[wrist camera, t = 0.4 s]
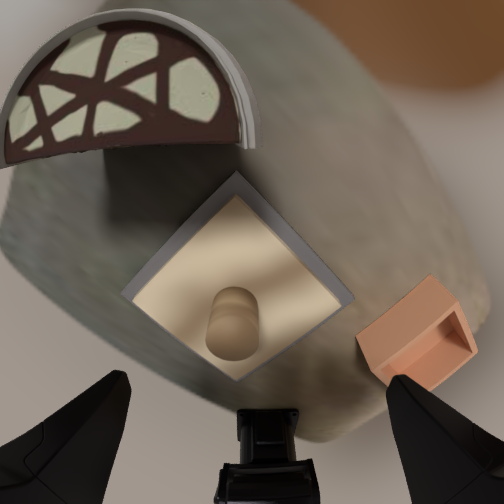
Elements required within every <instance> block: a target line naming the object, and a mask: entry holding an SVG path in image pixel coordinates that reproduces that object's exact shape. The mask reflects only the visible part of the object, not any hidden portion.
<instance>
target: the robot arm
mask: <svg viewBox="0 0 504 504" xmlns="http://www.w3.org/2000/svg"><path fill="white" fill-rule="evenodd" d="M130 397H131V386H130V383H129V380H128V377H127V374H126V372H124V371H120V370H113V371H111V372H110V373H109V374H107V375H106V376H105V377H103V378H102V379H101V380H99V381H98V382H96V383H95V384H94V385H92V386H91V387H90V388H88V389H87V390H85V391H84V392H83V393H81V394H80V395H78V396H77V397H76V398H74V399H73V400H71V401H70V402H69V403H67V404H66V405H65V406H63V407H62V408H61V409H59V410H58V411H56V412H55V413H53V414H52V415H51V416H49V417H48V418H46V419H45V420H44V421H43V422H41V423H39V424H38V425H36V426H35V427H33V428H32V429H30V430H29V431H27V432H26V433H24V434H23V435H21V436H19V437H17V438H16V439H14V440H12V441H10V442H8V443H6V444H5V445H3V446H1V447H0V504H102V502H103V499H104V494H105V491H106V488H107V484H108V481H109V477H110V474H111V470H112V467H113V464H114V460H115V457H116V454H117V450H118V447H119V444H120V441H121V438H122V434H123V431H124V427H125V422H126V417H127V412H128V407H129V402H130ZM386 400H387V405H388V410H389V415H390V420H391V425H392V430H393V434H394V438H395V441H396V445H397V448H398V451H399V455H400V458H401V462H402V466H403V469H404V473H405V477H406V481H407V485H408V489H409V493H410V497H411V501H412V504H504V441H501V440H500V439H498V438H496V437H495V436H493V435H491V434H490V433H488V432H486V431H485V430H483V429H482V428H481V427H479V426H478V425H476V424H475V423H472V421H470V420H469V419H468V418H466V417H465V416H463V415H462V414H460V413H459V412H457V411H456V410H455V409H453V408H452V407H451V406H449V405H448V404H446V403H445V402H443V401H442V400H440V399H439V398H438V397H436V396H435V395H434V394H432V393H430V391H428V390H427V389H425V388H424V387H422V386H421V385H420V384H418V383H417V382H415V381H414V380H413V379H411V378H410V377H409V376H407V375H406V374H398V375H394V376H393V377H392V379H391V382H390V384H389V386H388V388H387V391H386ZM298 417H299V410H297V409H281V410H238V411H237V437H238V441H240V464H230V463H224V466H223V469H221V470H220V473H219V483H218V487H217V490H216V494H215V496H214V504H320V491H319V486H318V481H317V477H316V473H315V469H314V464H313V460H312V459H307V460H301V461H296V452H295V444H294V433H295V429H296V425H297V421H298Z"/></svg>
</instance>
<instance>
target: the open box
mask: <svg viewBox="0 0 504 504" xmlns="http://www.w3.org/2000/svg"><path fill="white" fill-rule="evenodd" d="M356 338H357V340H358V343H359V345H360V347H361V349H362V352H363V354H364V356H365V358H366V361H367V363H368V365H369V368H370V370H371V372H373V373H374V374H375V375H376V376H377V377H378V378H379V379H380V380H381V381H382V382H383V383H384V384H385V385H386V386H387V387H388V386H389V384H390V382H391V379H392V377H393V376H394V375H398V374H406V375H407V376H409V377H410V378H411V379H413V380H414V381H415V382H417V383H418V384H420V385H421V386H422V387H424V388H425V389H427V390H428V391H431V390H433V389H434V388H435V387H437V385H439V384H440V383H442V382H443V381H444V380H446V379H447V378H448V377H449V376H451V375H452V374H453V373H454V372H455V371H457V370H458V369H459V368H460V367H461V366H463V365H464V364H465V363H466V362H467V361H468V360H470V359H471V358H472V357H473V356H474V355H475V354H476V353H477V352H478V349H477V346H476V344H475V341H474V338H473V336H472V333H471V331H470V328H469V326H468V323H467V321H466V318H465V316H464V314H463V311H462V309H461V307H460V304H459V302H458V300H457V299H456V298H455V297H454V296H453V295H452V294H451V293H450V292H449V291H448V290H447V289H446V288H445V287H444V286H443V285H441V284H440V283H439V282H438V281H437V280H436V279H435V278H434V277H433V276H432V275H431V274H430V275H428V276H427V277H426V278H425V279H424V280H423V281H422V282H421V283H420V284H419V285H417V286H416V287H415V288H414V289H413V290H412V291H411V292H409V293H408V294H407V295H406V296H405V297H404V298H402V299H401V300H400V301H399V302H398V303H396V304H395V305H394V306H393V307H392V308H390V309H389V310H388V311H387V312H385V313H384V314H383V315H382V316H380V317H379V318H378V319H377V320H375V321H374V322H373V323H372V324H370V325H369V326H368V327H366V328H365V329H364V330H362V331H361V332H360V333H358V334H357V335H356Z"/></svg>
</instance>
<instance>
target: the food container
mask: <svg viewBox="0 0 504 504" xmlns="http://www.w3.org/2000/svg"><path fill="white" fill-rule="evenodd" d="M172 144H196V145H198V144H236V145H238V146H240V147H242V148H244V149H248V148H261V147H262V132H261V121H260V116H259V112H258V107H257V102H256V98H255V96H254V93H253V91H252V89H251V86H250V84H249V81H248V79H247V77H246V75H245V73H244V72H243V70H242V69H241V67H240V66H239V64H238V63H237V61H236V59H235V58H234V57H233V56H232V54H231V53H230V52H229V51H228V50H227V49H226V48H225V47H224V46H223V45H222V44H221V43H220V42H219V41H218V40H217V39H215V38H214V37H212V36H211V35H210V34H208V33H207V32H205V31H204V30H202V29H201V28H199V27H198V26H196V25H194V24H192V23H191V22H189V21H186V20H184V19H182V18H179V17H177V16H175V15H172V14H170V13H166V12H161V11H156V10H151V9H116V10H111V11H106V12H101V13H96V14H93V15H91V16H88V17H85V18H83V19H80V20H78V21H76V22H74V23H72V24H70V25H69V26H67V27H65V28H63V29H62V30H60V31H58V32H57V33H56V34H54V35H53V36H52V37H50V38H49V39H48V40H47V41H46V42H44V43H43V44H42V45H41V46H40V47H39V48H38V49H37V50H36V51H35V52H34V53H33V54H32V55H31V57H30V58H29V59H28V60H27V61H26V63H25V64H24V65H23V67H22V68H21V70H20V71H19V72H18V74H17V75H16V77H15V79H14V81H13V82H12V84H11V86H10V88H9V90H8V92H7V94H6V96H5V99H4V102H3V104H2V107H1V110H0V169H3V168H6V167H10V166H14V165H18V164H22V163H26V162H30V161H34V160H39V159H43V158H48V157H53V156H58V155H63V154H68V153H77V152H80V153H82V152H86V151H89V150H97V149H110V148H112V149H113V150H114V149H116V148H118V147H134V146H146V145H155V146H160V145H165V146H167V145H172Z"/></svg>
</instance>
